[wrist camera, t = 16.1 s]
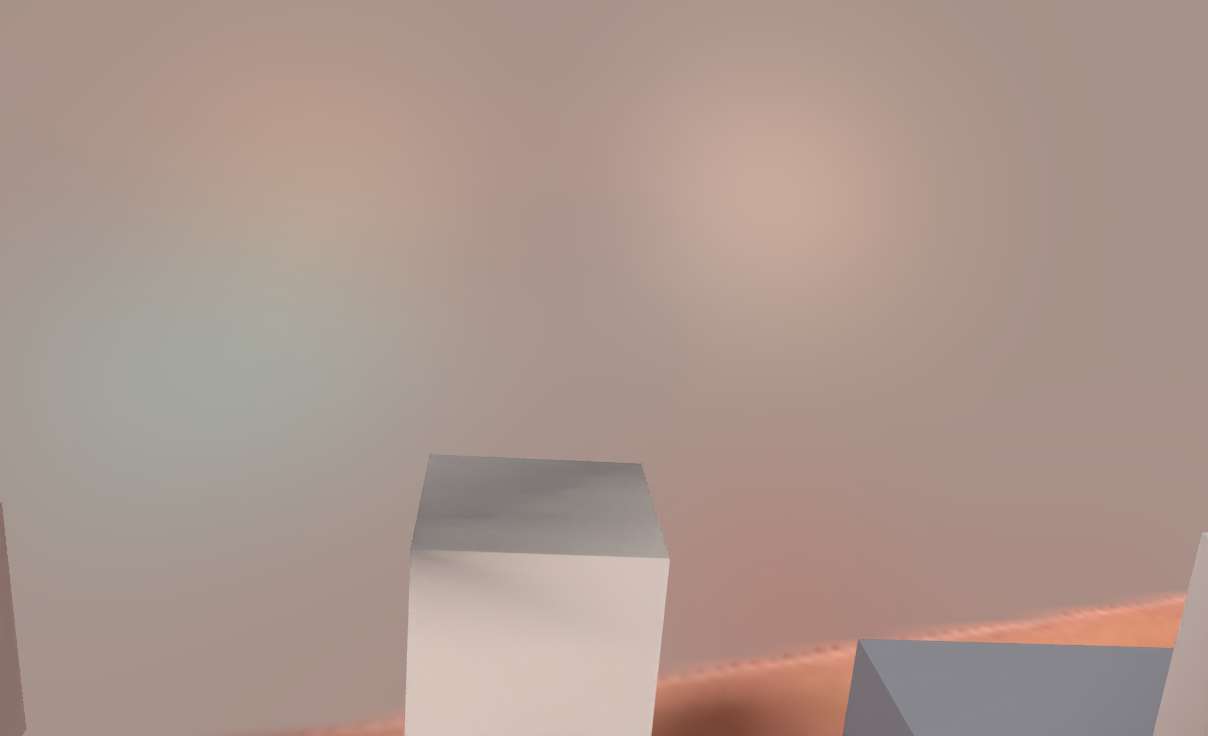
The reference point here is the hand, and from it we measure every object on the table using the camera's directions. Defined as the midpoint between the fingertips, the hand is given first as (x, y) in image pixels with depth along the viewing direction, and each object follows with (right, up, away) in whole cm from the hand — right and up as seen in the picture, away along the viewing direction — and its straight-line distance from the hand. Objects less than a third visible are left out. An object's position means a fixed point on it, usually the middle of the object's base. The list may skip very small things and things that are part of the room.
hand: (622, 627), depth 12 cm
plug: (-3, -13, +15) cm, 21 cm away
